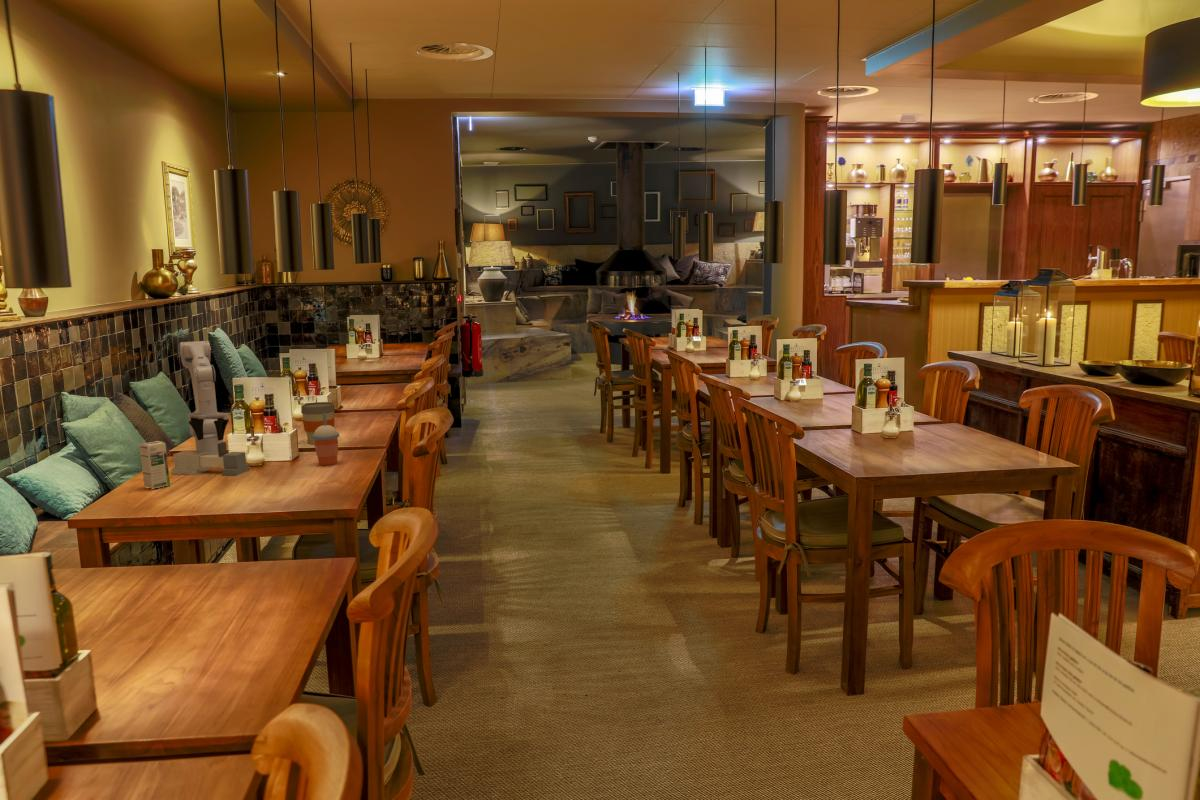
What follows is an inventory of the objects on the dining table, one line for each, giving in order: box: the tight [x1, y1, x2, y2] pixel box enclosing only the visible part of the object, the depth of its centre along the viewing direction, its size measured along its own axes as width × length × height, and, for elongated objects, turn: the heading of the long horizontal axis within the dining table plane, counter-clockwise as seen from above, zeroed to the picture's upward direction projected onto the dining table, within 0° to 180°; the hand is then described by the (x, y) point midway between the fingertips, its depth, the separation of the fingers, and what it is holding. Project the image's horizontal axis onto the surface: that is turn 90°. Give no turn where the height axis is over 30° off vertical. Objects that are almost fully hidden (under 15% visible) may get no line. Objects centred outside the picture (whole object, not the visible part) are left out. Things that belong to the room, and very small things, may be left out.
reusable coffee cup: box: [300, 401, 336, 445], centre depth 344 cm, size 13×13×15 cm
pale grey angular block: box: [199, 441, 228, 468], centre depth 298 cm, size 14×4×8 cm, turn 80°
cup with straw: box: [312, 413, 340, 467], centre depth 307 cm, size 9×9×18 cm
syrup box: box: [139, 440, 171, 489], centre depth 280 cm, size 6×6×14 cm
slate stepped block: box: [221, 451, 250, 477], centre depth 297 cm, size 5×8×7 cm, turn 170°
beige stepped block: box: [171, 450, 212, 476], centre depth 300 cm, size 9×8×7 cm
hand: (210, 439), depth 302 cm, fingers open, 7 cm apart
